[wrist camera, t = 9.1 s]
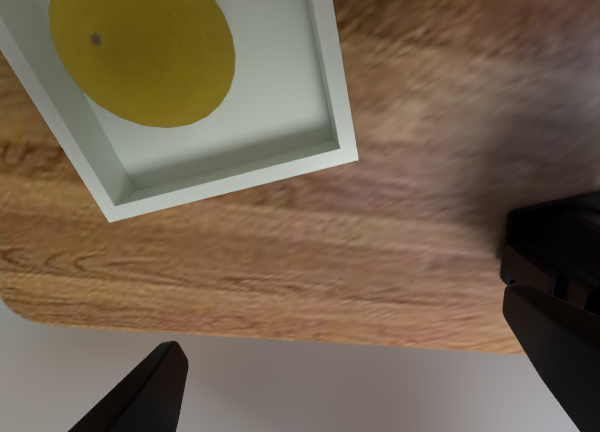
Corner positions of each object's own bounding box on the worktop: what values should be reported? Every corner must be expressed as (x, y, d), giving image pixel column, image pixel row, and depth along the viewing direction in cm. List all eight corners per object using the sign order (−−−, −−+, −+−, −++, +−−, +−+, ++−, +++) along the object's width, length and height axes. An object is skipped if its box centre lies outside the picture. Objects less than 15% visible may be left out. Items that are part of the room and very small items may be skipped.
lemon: (193, -43, 13) (72, -194, 5) (268, 73, 15) (251, 74, 8) (108, 37, 14) (-83, 0, 7) (189, 134, 16) (111, 183, 9)
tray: (289, -188, 11) (288, -271, 8) (348, 146, 17) (358, 160, 14) (-18, -74, 12) (-104, -116, 10) (136, 201, 18) (109, 222, 16)
